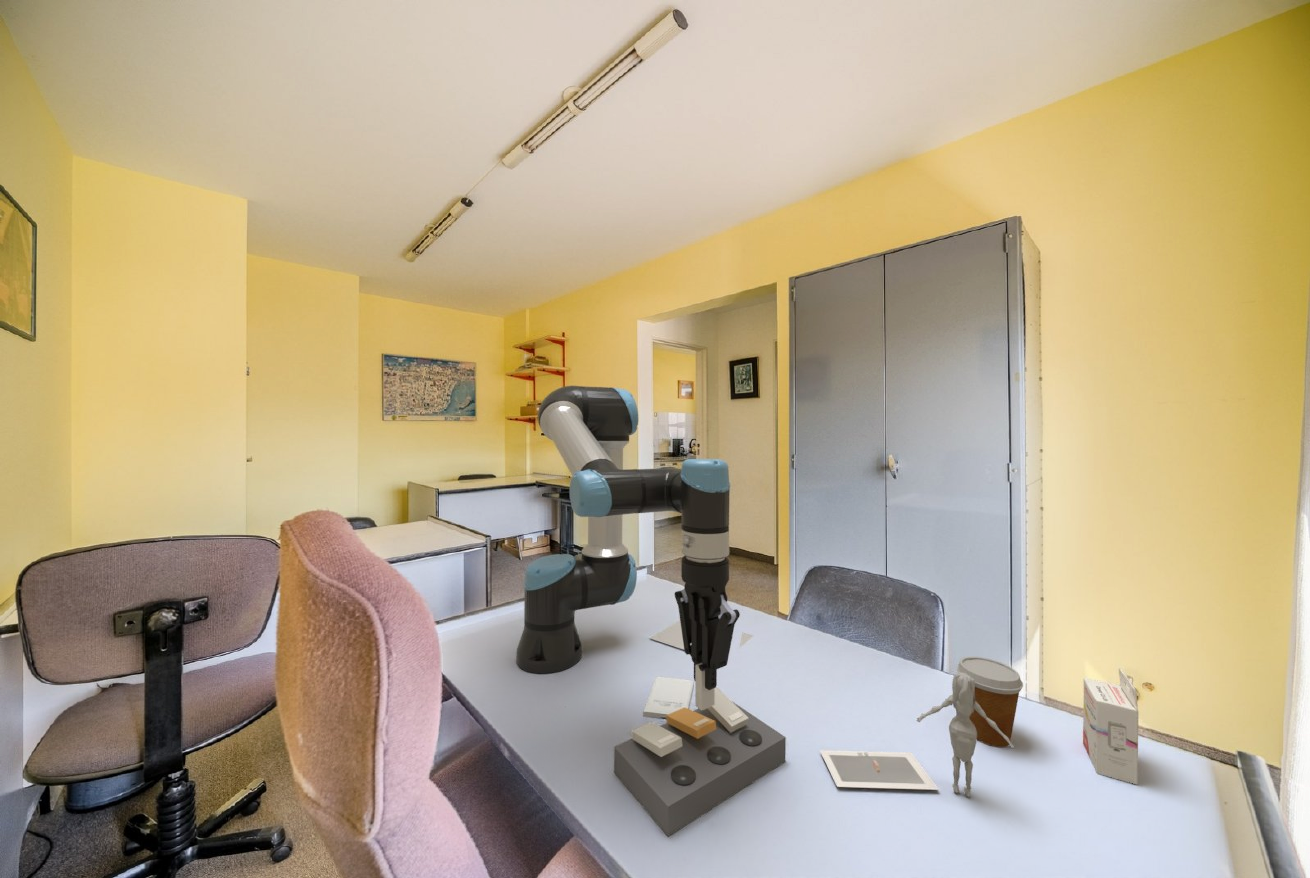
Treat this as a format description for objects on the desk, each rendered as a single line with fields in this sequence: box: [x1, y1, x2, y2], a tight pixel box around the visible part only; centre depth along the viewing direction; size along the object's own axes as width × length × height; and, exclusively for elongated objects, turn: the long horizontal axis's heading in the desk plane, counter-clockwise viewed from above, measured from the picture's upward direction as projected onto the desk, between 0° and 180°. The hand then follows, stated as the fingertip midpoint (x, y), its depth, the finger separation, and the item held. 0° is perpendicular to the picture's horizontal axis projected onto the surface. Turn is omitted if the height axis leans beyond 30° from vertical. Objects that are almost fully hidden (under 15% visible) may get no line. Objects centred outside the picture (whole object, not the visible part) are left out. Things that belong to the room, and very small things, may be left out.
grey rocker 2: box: [707, 686, 749, 733], centre depth 78 cm, size 8×4×1 cm, turn 35°
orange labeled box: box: [665, 707, 716, 739], centre depth 75 cm, size 8×4×1 cm, turn 36°
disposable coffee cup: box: [956, 656, 1024, 748], centre depth 81 cm, size 10×10×12 cm
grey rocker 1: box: [631, 721, 682, 757], centre depth 71 cm, size 8×4×1 cm, turn 36°
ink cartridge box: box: [1082, 667, 1139, 786], centre depth 74 cm, size 9×5×15 cm, turn 148°
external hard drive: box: [642, 676, 695, 719], centre depth 91 cm, size 2×8×12 cm
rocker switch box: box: [613, 701, 787, 837], centre depth 73 cm, size 14×24×4 cm, turn 126°
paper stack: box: [649, 620, 754, 651], centre depth 120 cm, size 23×25×1 cm
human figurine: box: [915, 671, 1015, 798], centre depth 67 cm, size 12×4×18 cm, turn 61°
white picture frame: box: [819, 749, 940, 791], centre depth 72 cm, size 8×15×2 cm, turn 88°
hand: (704, 705), depth 72 cm, fingers closed
